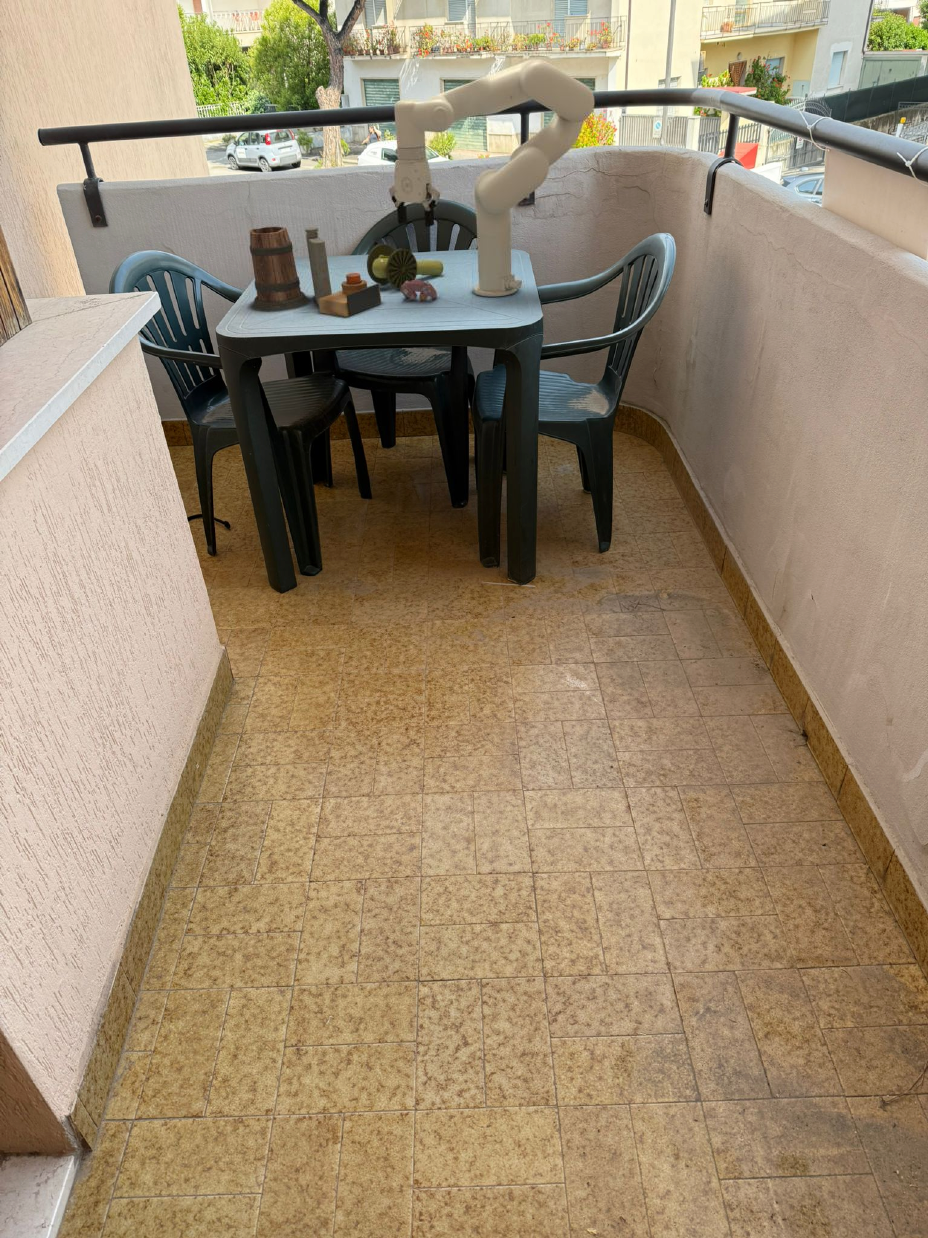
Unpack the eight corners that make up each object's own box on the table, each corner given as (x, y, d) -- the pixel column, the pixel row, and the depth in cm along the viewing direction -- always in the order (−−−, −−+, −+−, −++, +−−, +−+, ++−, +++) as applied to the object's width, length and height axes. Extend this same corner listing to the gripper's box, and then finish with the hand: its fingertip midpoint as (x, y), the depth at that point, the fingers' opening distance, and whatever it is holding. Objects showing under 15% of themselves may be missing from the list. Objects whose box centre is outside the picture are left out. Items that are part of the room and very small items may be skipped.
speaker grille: (380, 302, 239) (378, 283, 236) (350, 314, 231) (347, 295, 228) (379, 302, 240) (377, 283, 237) (348, 314, 231) (346, 294, 228)
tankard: (304, 309, 239) (292, 233, 227) (245, 312, 239) (231, 237, 228) (316, 287, 258) (306, 217, 246) (262, 290, 258) (249, 220, 247)
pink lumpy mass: (402, 305, 243) (397, 285, 237) (407, 294, 245) (401, 274, 239) (435, 306, 240) (429, 286, 234) (439, 295, 242) (434, 275, 236)
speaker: (381, 303, 241) (379, 281, 237) (346, 316, 231) (343, 294, 227) (355, 298, 245) (352, 277, 242) (320, 312, 236) (316, 290, 232)
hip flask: (334, 307, 239) (324, 231, 227) (320, 309, 238) (309, 233, 226) (325, 294, 251) (314, 221, 240) (311, 295, 251) (300, 223, 239)
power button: (364, 282, 238) (363, 273, 236) (354, 286, 235) (353, 276, 234) (353, 281, 240) (352, 272, 238) (344, 284, 237) (343, 275, 236)
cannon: (429, 271, 268) (426, 233, 261) (452, 277, 260) (450, 238, 254) (364, 287, 255) (360, 247, 249) (387, 294, 248) (383, 253, 241)
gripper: (378, 154, 224) (383, 223, 234) (428, 157, 216) (431, 229, 226) (396, 150, 229) (401, 219, 239) (446, 153, 220) (448, 224, 230)
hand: (416, 224), depth 232 cm, fingers open, 9 cm apart
